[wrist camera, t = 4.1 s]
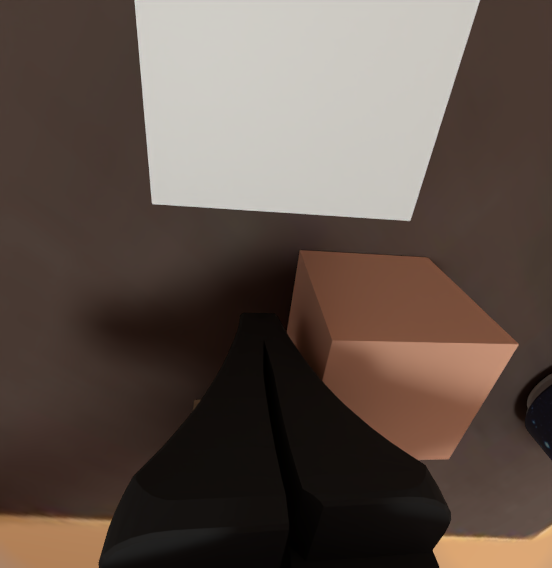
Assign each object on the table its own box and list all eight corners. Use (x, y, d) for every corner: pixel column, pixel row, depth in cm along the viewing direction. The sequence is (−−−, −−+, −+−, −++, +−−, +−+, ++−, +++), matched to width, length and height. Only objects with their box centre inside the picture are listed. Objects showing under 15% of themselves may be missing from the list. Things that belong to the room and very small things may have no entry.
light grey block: (186, 152, 10) (152, 204, 6) (180, -74, 8) (113, -250, 4) (344, 165, 11) (410, 220, 7) (384, -40, 9) (528, -154, 4)
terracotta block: (283, 353, 15) (301, 463, 11) (299, 249, 12) (332, 340, 8) (391, 354, 16) (448, 459, 11) (427, 257, 13) (519, 344, 9)
